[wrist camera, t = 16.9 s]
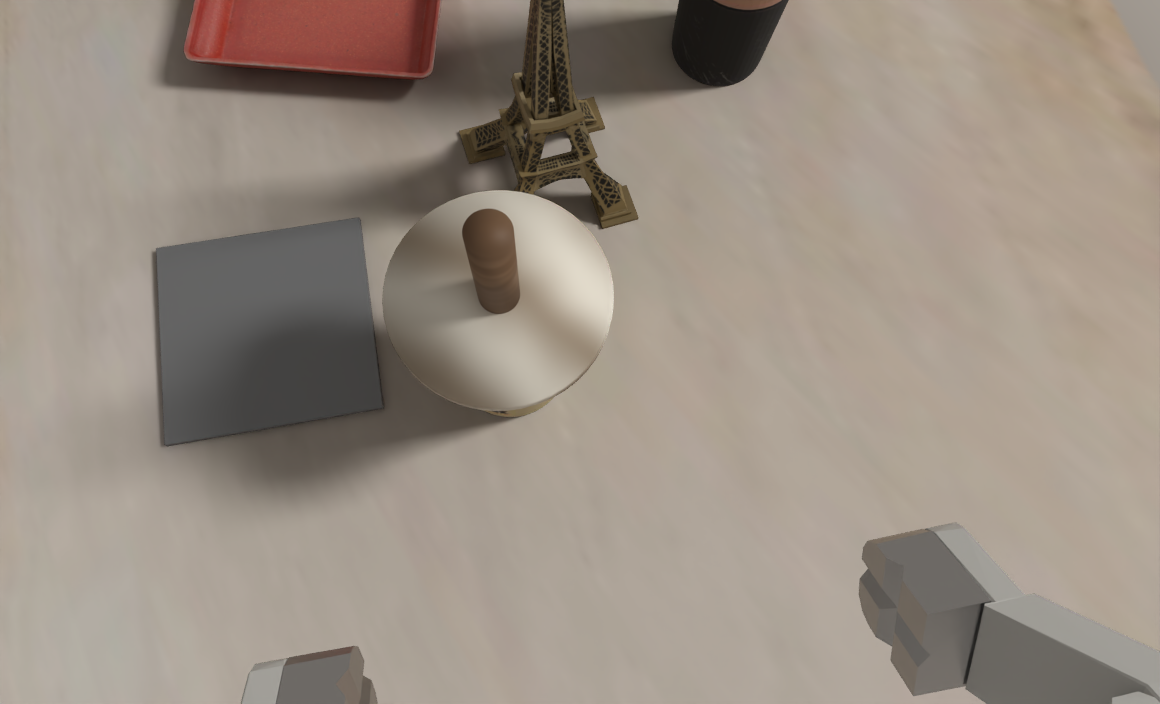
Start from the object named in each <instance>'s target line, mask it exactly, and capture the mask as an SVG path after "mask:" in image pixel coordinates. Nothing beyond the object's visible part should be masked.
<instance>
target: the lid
mask: <svg viewBox="0 0 1160 704" xmlns="http://www.w3.org/2000/svg"><path fill="white" fill-rule="evenodd" d="M382 304H383V315H384V320H385V324H386V328H387V332H388V334H389V337H390V339H391V342H392V345H393V346H394V348H395V350H396V351H397V353H398V355H399V357H400V358H401V360H402V361H403V363H404V364H405V365H406V366H407V368H408V369H409V370H410V372H411V373H412V374H413V375H414V376H415V377H416V378H417V379H418V380H419V381H420V382H421V383H422V384H423V385H425V386H426V387H427V388H429V389H430V390H431V391H433V392H434V393H436V394H437V395H439V396H441V397H443V398H445V399H447V400H449V401H451V402H454V403H456V404H459V405H461V406H465V407H469V408H473V409H478V410H487V411H510V410H516V409H523V408H527V407H530V406H534V405H537V404H540V403H542V402H544V401H547V400H549V399H551V398H553V397H555V396H557V395H558V394H560V393H562V392H563V391H565V390H566V389H568V388H569V387H570V386H571V385H573V384H574V383H575V382H577V381H578V380H579V379H580V378H581V377H582V375H583V374H584V373H585V372H586V371H587V370H588V369H589V368H590V366H591V365H592V364H593V362H594V361H595V360H596V358H597V356H598V354H599V352H600V351H601V349H602V347H603V345H604V342H605V339H606V337H607V334H608V331H609V327H610V323H611V318H612V314H613V305H614V289H613V281H612V276H611V271H610V268H609V265H608V262H607V259H606V257H605V255H604V253H603V251H602V249H601V246H600V245H599V243H598V242H597V240H596V239H595V237H594V236H593V234H592V233H591V232H590V231H589V230H588V229H587V228H586V226H585V225H584V224H583V223H582V222H581V221H579V220H578V219H577V218H576V217H575V216H574V215H573V214H571V213H570V212H568V211H567V210H565V209H564V208H562V207H561V206H559V205H557V204H555V203H553V202H551V201H549V200H546V199H544V198H541V197H538V196H535V195H532V194H527V193H523V192H517V191H508V190H491V191H483V192H476V193H472V194H468V195H464V196H461V197H459V198H456V199H453V200H451V201H448V202H446V203H445V204H443V205H441V206H439V207H437V208H435V209H434V210H432V211H431V212H430V213H428V214H427V215H425V216H424V217H423V218H422V219H421V220H419V221H418V222H417V223H416V224H415V225H414V226H413V227H412V228H411V229H410V230H409V232H408V233H407V234H406V235H405V236H404V238H403V239H402V241H401V242H400V244H399V245H398V247H397V248H396V250H395V252H394V254H393V256H392V258H391V260H390V263H389V266H388V269H387V272H386V275H385V281H384V286H383V300H382Z"/></svg>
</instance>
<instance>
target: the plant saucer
mask: <svg viewBox="0 0 1160 704" xmlns="http://www.w3.org/2000/svg"><path fill="white" fill-rule="evenodd" d="M441 1H442V0H195V1H194V5H193V11H192V14H191V18H190V23H189V27H188V30H187V36H186V40H185V45H184V51H183V52H184V54H185V57H186V58H187V59H188V60H190V61H194V62H198V63H204V64H212V65H221V66H233V67H247V68H261V69H274V70H290V71H303V72H316V73H329V74H343V75H356V76H369V77H382V78H395V79H411V80H415V79H423V78H426V77H428V76H429V75H430V74H431V73H432V71H433V67H434V58H435V50H436V42H437V33H438V25H439V18H440V10H441Z"/></svg>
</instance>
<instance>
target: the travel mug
mask: <svg viewBox="0 0 1160 704" xmlns="http://www.w3.org/2000/svg"><path fill="white" fill-rule="evenodd" d="M787 2H788V0H679V4H678V9H677V15H676V20H675V26H674V32H673V39H672V49H673V54H674V57H675V59H676V61H677V63H678V65H679V66H680V68H681V69H682V70H683V71H684V72H685V73H686V74H687V75H689V76H690V77H692V78H693V79H695V80H697V81H699V82H701V83H704V84H708V85H714V86H726V85H731V84H735V83H738V82H740V81H742V80H744V79H745V78H747V77H748V76H749V75H750V74H751V73H752V72H753V71H754V70H755V68H756V67H757V65H758V63H759V62H760V60H761V58H762V56H763V53H764V51H765V49H766V47H767V45H768V43H769V41H770V39H771V36H772V34H773V32H774V30H775V28H776V26H777V24H778V22H779V19H780V17H781V15H782V13H783V11H784V9H785V7H786V4H787Z"/></svg>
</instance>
